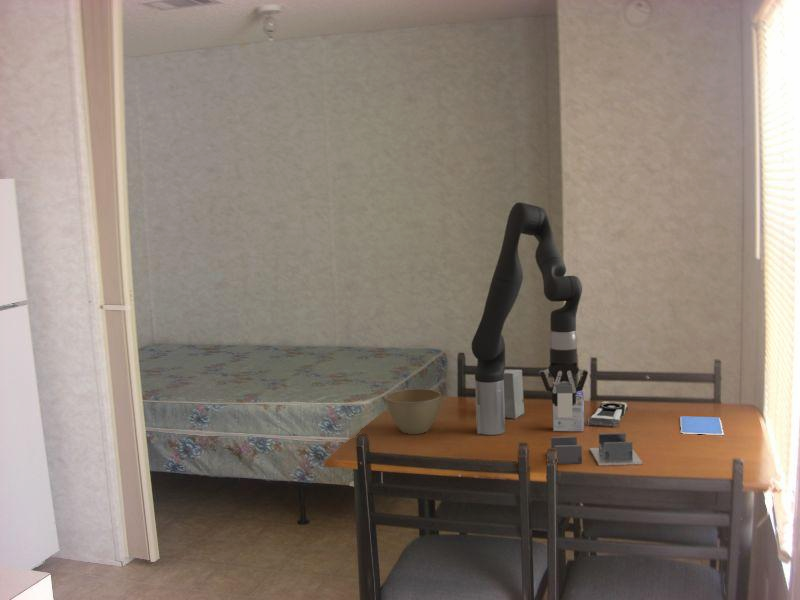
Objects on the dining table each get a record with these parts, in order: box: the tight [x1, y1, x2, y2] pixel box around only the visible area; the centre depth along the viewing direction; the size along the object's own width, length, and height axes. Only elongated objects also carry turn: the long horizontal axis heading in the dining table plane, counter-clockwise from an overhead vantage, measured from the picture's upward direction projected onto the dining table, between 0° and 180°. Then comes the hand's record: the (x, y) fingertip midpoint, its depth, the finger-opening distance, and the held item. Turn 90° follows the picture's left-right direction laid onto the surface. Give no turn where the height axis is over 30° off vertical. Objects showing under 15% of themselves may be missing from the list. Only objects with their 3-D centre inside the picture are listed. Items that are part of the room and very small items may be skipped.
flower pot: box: [385, 388, 442, 435], centre depth 267 cm, size 18×18×12 cm
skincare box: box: [504, 368, 525, 420], centre depth 281 cm, size 8×7×16 cm
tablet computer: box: [679, 415, 725, 436], centre depth 258 cm, size 19×13×1 cm, turn 162°
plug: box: [556, 381, 573, 418], centre depth 231 cm, size 4×6×9 cm, turn 176°
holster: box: [550, 435, 583, 465], centre depth 233 cm, size 7×9×5 cm
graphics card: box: [587, 400, 628, 428], centre depth 274 cm, size 10×3×25 cm
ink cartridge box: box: [551, 390, 585, 432], centre depth 261 cm, size 10×6×14 cm, turn 78°
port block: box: [589, 432, 643, 466], centre depth 232 cm, size 12×14×6 cm
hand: (563, 405), depth 231 cm, fingers closed on plug, 4 cm apart
